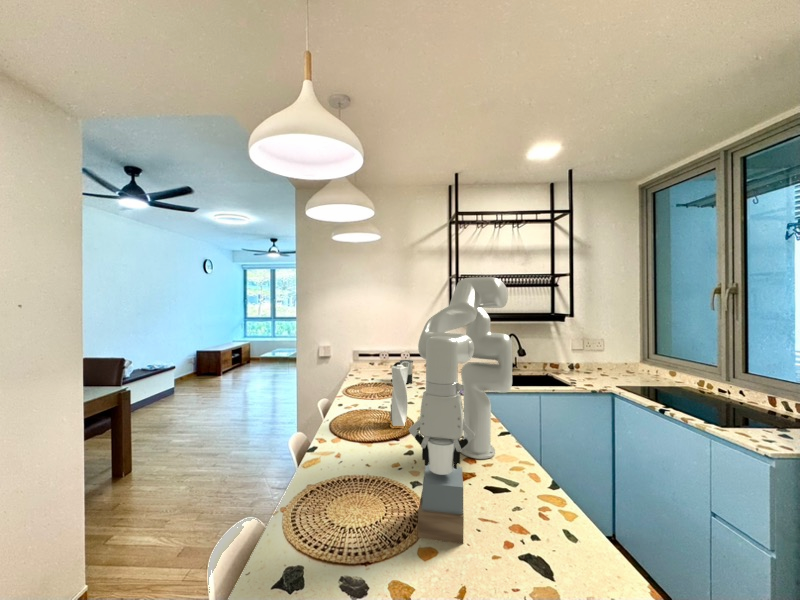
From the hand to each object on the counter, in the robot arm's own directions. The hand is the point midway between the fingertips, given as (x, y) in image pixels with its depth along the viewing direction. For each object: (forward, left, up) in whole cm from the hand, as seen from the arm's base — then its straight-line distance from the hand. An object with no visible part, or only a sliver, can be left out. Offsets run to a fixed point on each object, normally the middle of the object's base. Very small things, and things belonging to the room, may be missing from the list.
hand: (441, 463), depth 76 cm
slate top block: (0, +1, -9) cm, 9 cm away
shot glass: (0, 0, -1) cm, 1 cm away
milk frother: (-134, -35, -15) cm, 140 cm away
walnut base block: (0, 0, -15) cm, 15 cm away
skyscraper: (-60, -22, -15) cm, 66 cm away
